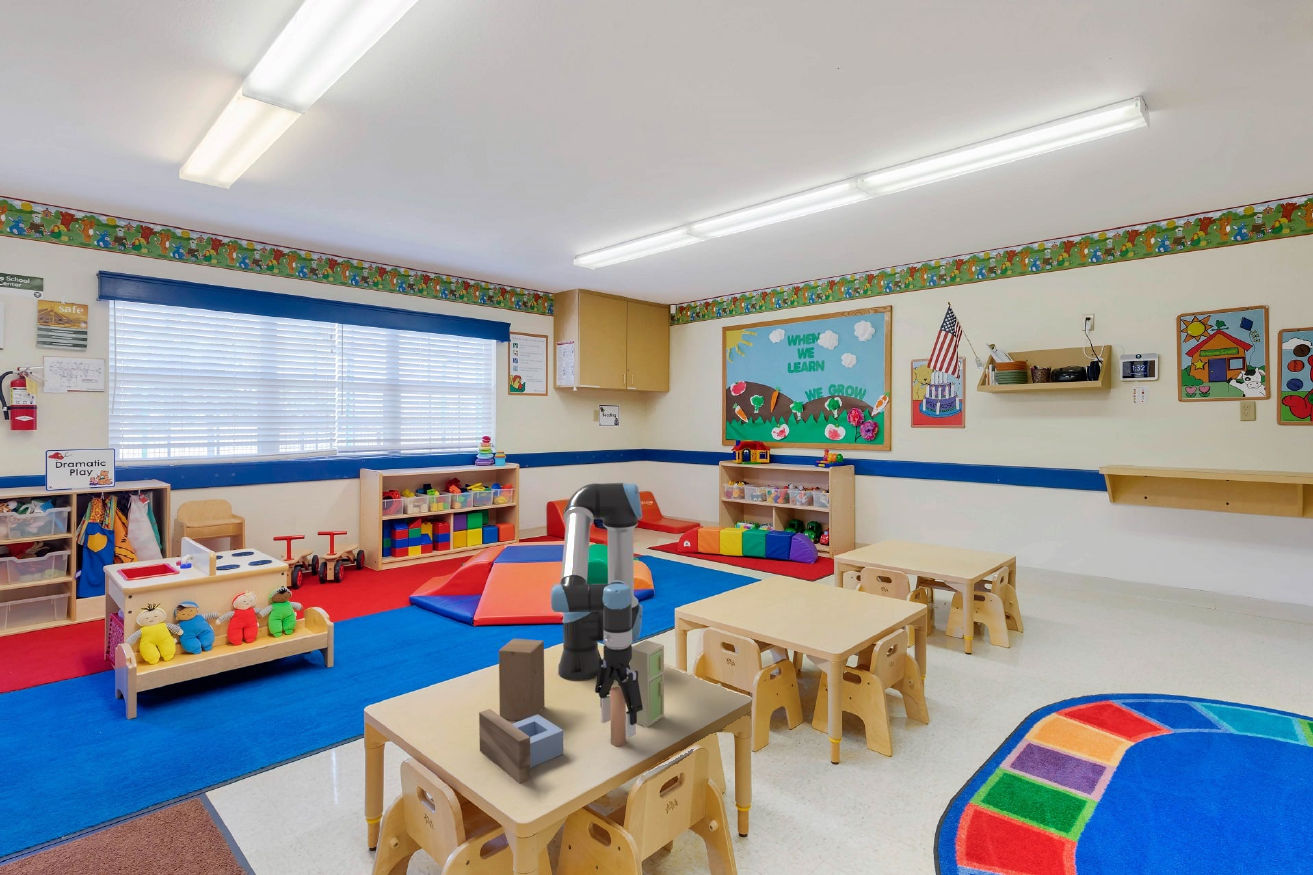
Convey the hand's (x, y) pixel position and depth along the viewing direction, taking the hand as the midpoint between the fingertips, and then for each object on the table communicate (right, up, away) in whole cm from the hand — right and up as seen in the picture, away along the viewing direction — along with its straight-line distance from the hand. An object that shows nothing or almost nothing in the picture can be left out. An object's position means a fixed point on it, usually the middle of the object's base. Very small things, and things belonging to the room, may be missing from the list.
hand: (618, 728), depth 166 cm
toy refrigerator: (+8, -4, +12) cm, 15 cm away
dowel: (0, -4, 0) cm, 4 cm away
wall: (-28, -4, -10) cm, 30 cm away
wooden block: (-29, -4, +17) cm, 34 cm away
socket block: (-22, -4, -5) cm, 23 cm away
